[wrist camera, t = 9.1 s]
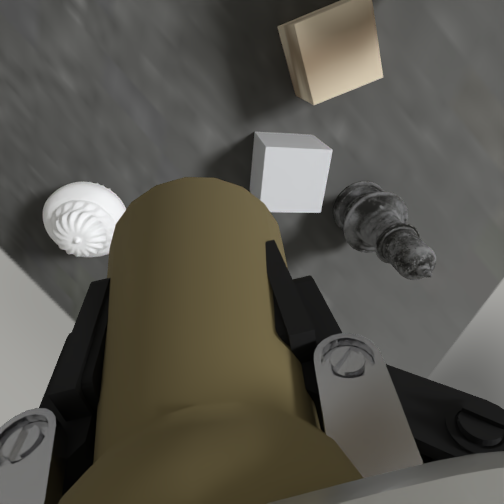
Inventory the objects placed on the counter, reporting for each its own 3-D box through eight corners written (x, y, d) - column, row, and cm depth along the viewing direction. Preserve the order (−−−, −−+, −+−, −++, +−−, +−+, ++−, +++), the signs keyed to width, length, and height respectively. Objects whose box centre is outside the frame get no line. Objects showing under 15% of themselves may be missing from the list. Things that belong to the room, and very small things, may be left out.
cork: (70, 261, 12) (-292, 962, 3) (200, 135, 11) (290, 676, 2) (199, 349, 15) (223, 855, 6) (315, 257, 14) (592, 717, 4)
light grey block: (303, 190, 34) (320, 212, 30) (249, 189, 33) (259, 211, 29) (312, 134, 32) (332, 149, 27) (254, 131, 31) (265, 146, 26)
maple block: (354, 71, 30) (383, 77, 25) (295, 95, 30) (314, 105, 25) (341, -1, 27) (371, -8, 23) (276, 26, 27) (294, 24, 23)
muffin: (49, 221, 32) (17, 264, 26) (67, 155, 29) (37, 186, 23) (122, 245, 34) (109, 289, 28) (144, 185, 31) (135, 220, 25)
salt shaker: (368, 241, 38) (437, 318, 28) (319, 225, 36) (373, 300, 26) (400, 189, 35) (489, 252, 25) (349, 169, 34) (422, 227, 23)
